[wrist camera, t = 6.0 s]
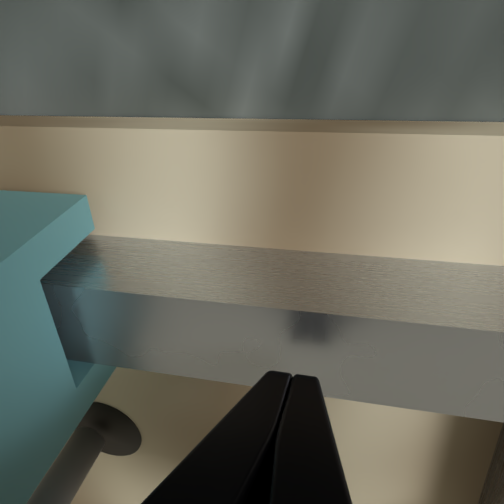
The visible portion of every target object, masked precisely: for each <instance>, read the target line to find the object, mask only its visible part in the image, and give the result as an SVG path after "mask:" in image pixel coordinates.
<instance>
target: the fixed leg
mask: <svg viewBox="0 0 504 504" xmlns="http://www.w3.org/2000/svg"><path fill="white" fill-rule="evenodd" d="M478 504H504V423H503V426H502V429H501V432H500V435H499V438H498V441H497V445H496V448H495V451H494V454H493V457H492V460H491V463H490V467H489V470H488V473H487V476H486V479H485V482H484V486H483V489H482V492H481V495H480V498H479V501H478Z"/></svg>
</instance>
